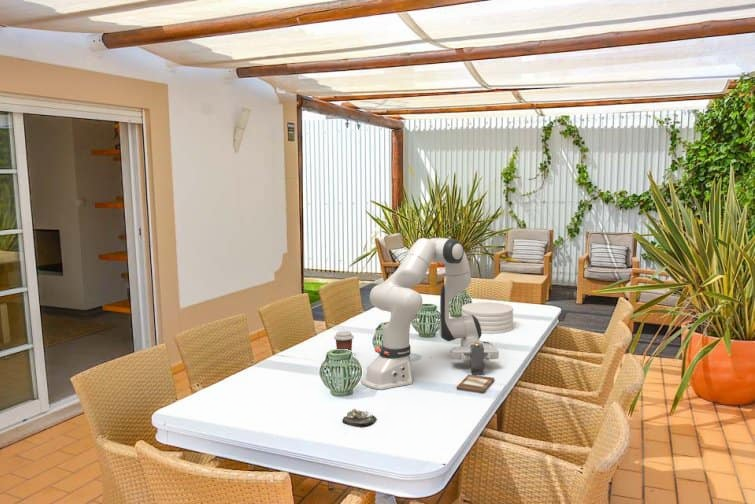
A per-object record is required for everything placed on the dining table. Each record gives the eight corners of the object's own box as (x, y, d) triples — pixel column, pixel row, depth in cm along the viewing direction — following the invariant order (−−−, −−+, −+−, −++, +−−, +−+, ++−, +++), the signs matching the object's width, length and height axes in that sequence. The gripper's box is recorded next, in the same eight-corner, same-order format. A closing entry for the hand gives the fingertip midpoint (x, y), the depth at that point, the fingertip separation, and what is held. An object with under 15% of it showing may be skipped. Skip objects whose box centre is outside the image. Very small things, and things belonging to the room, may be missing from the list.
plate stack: (502, 336, 311) (502, 315, 309) (453, 330, 325) (453, 309, 324) (519, 325, 334) (520, 305, 333) (473, 319, 349) (473, 300, 347)
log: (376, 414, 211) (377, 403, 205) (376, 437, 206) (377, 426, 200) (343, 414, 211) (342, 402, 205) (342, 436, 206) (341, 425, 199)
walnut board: (483, 393, 229) (483, 390, 229) (456, 389, 234) (456, 386, 234) (494, 380, 244) (494, 377, 244) (468, 377, 248) (468, 373, 248)
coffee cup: (341, 353, 284) (340, 329, 283) (357, 356, 280) (357, 331, 278) (330, 359, 276) (330, 334, 275) (347, 361, 272) (347, 336, 271)
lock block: (471, 375, 251) (471, 345, 249) (470, 371, 256) (470, 342, 254) (483, 375, 250) (483, 345, 249) (482, 371, 255) (482, 342, 254)
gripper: (449, 342, 266) (452, 351, 252) (495, 342, 265) (500, 351, 251) (449, 356, 266) (452, 366, 253) (495, 356, 266) (500, 365, 252)
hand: (476, 358), depth 252 cm, fingers open, 8 cm apart
